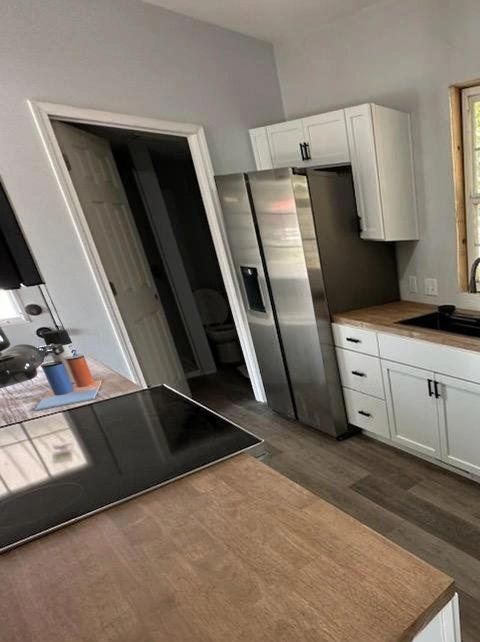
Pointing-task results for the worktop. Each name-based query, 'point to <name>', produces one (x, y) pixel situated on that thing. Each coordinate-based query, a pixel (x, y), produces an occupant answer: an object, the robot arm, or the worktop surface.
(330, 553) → the worktop surface
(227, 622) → the worktop surface
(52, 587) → the worktop surface
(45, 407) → the sorting board
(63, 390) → the blue canister
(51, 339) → the spray can
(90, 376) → the terracotta canister
